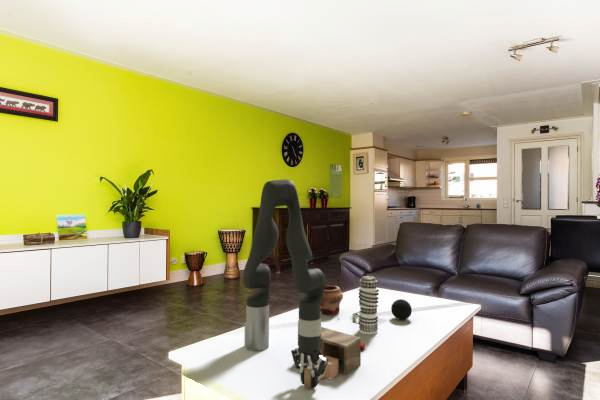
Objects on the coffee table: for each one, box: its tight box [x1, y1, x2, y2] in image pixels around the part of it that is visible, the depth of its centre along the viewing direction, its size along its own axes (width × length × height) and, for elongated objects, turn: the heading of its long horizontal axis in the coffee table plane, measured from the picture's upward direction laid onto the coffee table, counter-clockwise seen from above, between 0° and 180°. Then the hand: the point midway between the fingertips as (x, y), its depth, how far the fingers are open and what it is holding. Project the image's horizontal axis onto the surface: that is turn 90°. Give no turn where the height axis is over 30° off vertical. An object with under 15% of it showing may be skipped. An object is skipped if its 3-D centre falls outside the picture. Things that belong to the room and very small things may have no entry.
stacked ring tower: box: [358, 275, 380, 335], centre depth 166 cm, size 9×9×25 cm
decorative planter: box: [320, 285, 344, 316], centre depth 192 cm, size 20×12×14 cm, turn 141°
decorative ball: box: [390, 298, 412, 321], centre depth 184 cm, size 10×10×10 cm
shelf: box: [321, 326, 362, 376], centre depth 134 cm, size 20×10×10 cm, turn 52°
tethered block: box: [303, 355, 339, 390], centre depth 121 cm, size 5×15×6 cm, turn 142°
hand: (309, 384), depth 116 cm, fingers closed on tethered block, 3 cm apart
